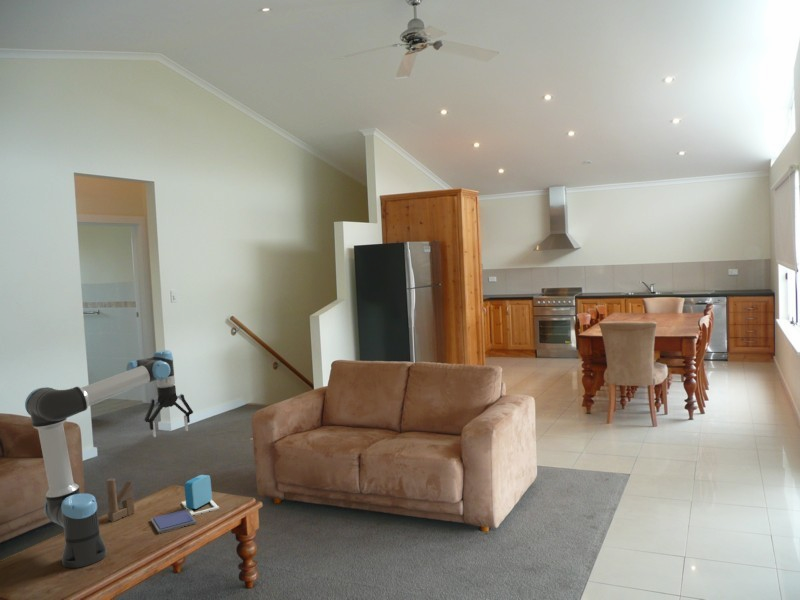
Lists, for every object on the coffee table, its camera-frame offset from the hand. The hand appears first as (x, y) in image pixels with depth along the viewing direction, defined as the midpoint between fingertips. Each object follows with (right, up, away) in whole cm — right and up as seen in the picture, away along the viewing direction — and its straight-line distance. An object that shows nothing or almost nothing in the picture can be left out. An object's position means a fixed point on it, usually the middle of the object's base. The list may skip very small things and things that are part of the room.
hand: (170, 433), depth 283 cm
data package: (+11, -33, +5) cm, 35 cm away
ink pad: (+5, -35, -12) cm, 37 cm away
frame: (+11, -34, +5) cm, 36 cm away
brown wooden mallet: (-21, -37, -1) cm, 42 cm away
